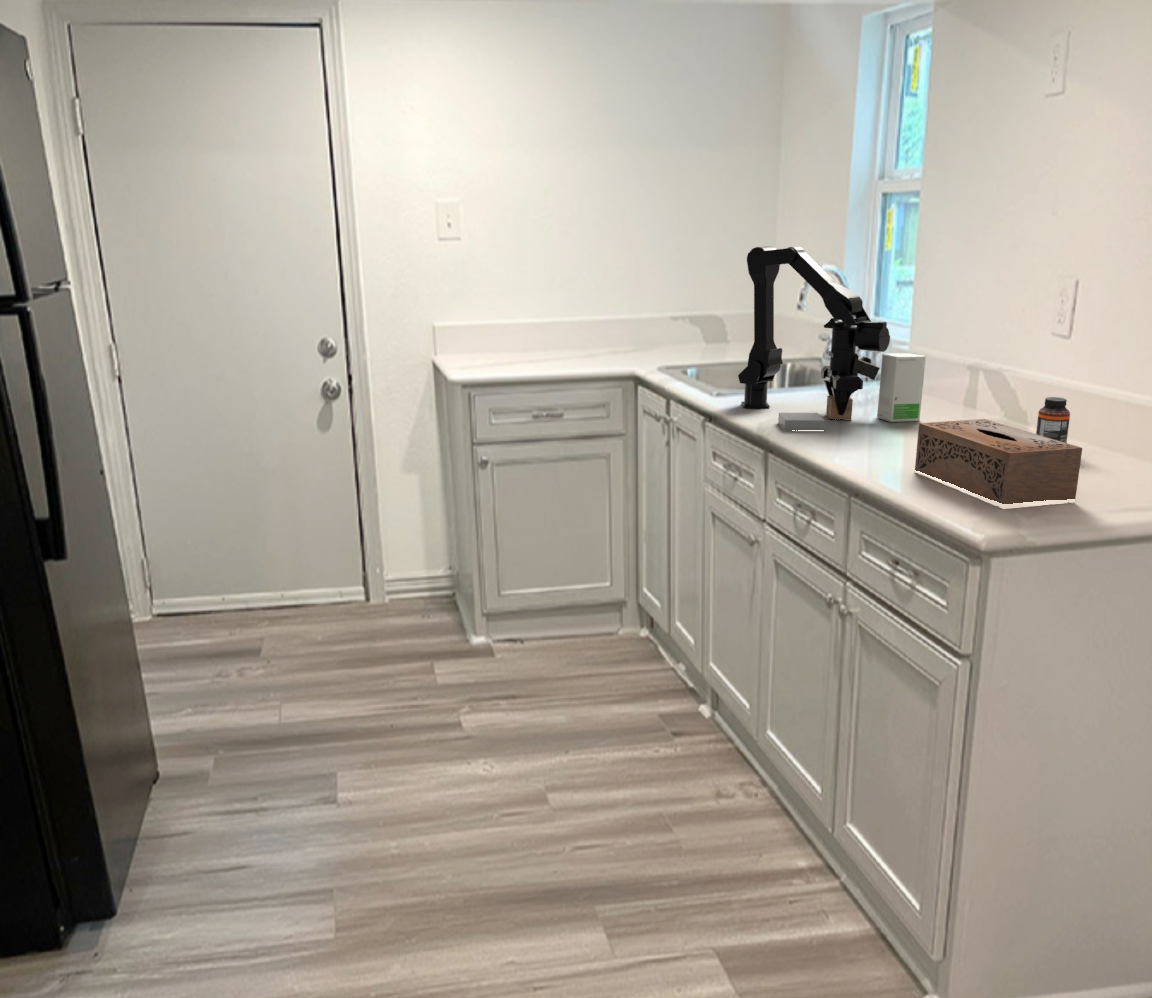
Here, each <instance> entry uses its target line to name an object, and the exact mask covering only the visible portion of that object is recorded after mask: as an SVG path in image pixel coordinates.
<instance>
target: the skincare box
mask: <svg viewBox="0 0 1152 998" xmlns="http://www.w3.org/2000/svg"><path fill="white" fill-rule="evenodd" d="M926 358H927V356H925V355H921V354H914V353H882V354H881V368H880V370H881V371H880V382H879V394H878V402H877V412H876V413H877V415H876V418H878V419H880V420H883V421H887V422H890V423H895V422H897V423H898V422H900V423H901V422H919V421H920V419H921V410H922V409H921V408H922V399H923V387H924V377H925V369H926V367H925V366H926Z"/></svg>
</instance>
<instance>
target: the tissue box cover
mask: <svg viewBox="0 0 1152 998" xmlns="http://www.w3.org/2000/svg"><path fill="white" fill-rule="evenodd" d="M917 431H918V432H917V433H918V434H917V442H916V443H917V444H916V453H915V454H916V455H915V464H914V471H915V470H916V471H920V472H922V473H925V474H927V475H930V476H932V477H936V478H938V479H941V480H942V481H945V482H949V483H951V484H954V485H956V486H958V487H960V488H964V489H966V490H968V491H970V492H972V493H975V494H978V495H980V496H983V497H985V498H988V499H990V500H994V501H997V502H999V503H1002V504H1013V503H1023V502H1033V501H1044V500H1045V501H1046V500H1067V499H1075V500H1076V498H1077V490H1078V483H1079V477H1080V476H1079V475H1080V470H1081V462H1082V455H1083V454H1082V453H1083V447H1082V446H1077V445H1074V444H1070V443H1064V442H1061V441H1058V440H1054V439H1051V438H1047V437H1044V436H1041V435H1037V434H1036V433H1033V432H1030V431H1027V430H1024V429H1020V428H1016V427H1013V426H1009V425H1007V424H1003V423H1001V422H996V421H992V420H989V419H987V418H986V419H985V418H979V419H977V418H975V419H964V420H962V419H961V420H948V421H945V420H944V421H932V422H919V423H918V430H917Z"/></svg>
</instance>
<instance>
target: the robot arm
mask: <svg viewBox="0 0 1152 998" xmlns="http://www.w3.org/2000/svg"><path fill="white" fill-rule="evenodd" d="M746 255H747V256H746V264H747V272H748V275H749V277H750V279H751V281H752V283H753V321H754V323H753V324H754V325H753V331H754V332H753V335H754V337H753V340H754V341H753V344H752V346H751V349H750V351H749V353H748V361H747V366H746V367H745V368H744V369H743V370H742V371H741V372H739V374H738V375H737V377H738V380H739V383H740V384H743V385H744V395H743V396H744V400H743V401H741V402H740V403H741V406H743V408H747V409H748V408H749V409H755V408H756V409H757V408H758V409H761V408H762V409H770V408H771V407H770V404H769V403H768V388H769V387H768V385H769V384H768V383H769V382H773V381H774V379H775V377H776V374H778V373H779V371H780V370H781V365H783V364H784V362H783V359H782V358H783V357H782V356H783V348H782V347H780V348H778V347H777V345H776V343H775V339H774V338H775V337H774V336H775V335H774V333H775V332H774V331H775V329H774V328H775V327H774V322H775V320H774V318H775V317H774V314H775V313H774V312H775V311H774V309H775V308H774V306H775V304H774V302H775V301H774V299H775V296H774V295H775V292H774V291H775V286H774V285H775V283H776V282H775V281H776V279H777V277H778V275H779V272H780V267H781V265H789V266H791V268H792V269H794V271H795V272H796V273H797V274H799V275H800V277H801V278H802V279H803V280H804V281H805V282H806V283H807V284H809V286H811V288H813V290H814V291H815V292H816V293H817V294H818V295H819V296H820V297H821V299H822V301H823V305H824V307H825V308H826V309H827V311H828V312H829V314H830V315H831V318H830V319H829V320H828V321H827V322H826V323H825V324H823V328H825V329H832V330H831V342H830V343H831V344H830V350H829V351H828V356H829V357H830V358H829V359H830V360H829V365H825V366H824V367H822V368H821V369H820V378H822V380H823V379H825V380H823V383H824V386H825V388H826V391H827V394H828V396H834V400H835V403H836V407H837V410H838V414H839V415H844V413H845V410H846V407H847V404H848V401H849V398H851V396H852V395H853V394H854V393H855V392H856V391H858V390H863V387H864V381H863V379H862V378H861V377H860V376H859V375H861V376H864V377H867V378H869V379H870V380H873V381H875V380H876V377H877V375H878V373H879V370H881V368H880V367H879V366H877V365H876V364H873V363H872V360H871V358H869V357H867V356H862V357H861V358H859V354H858V353H857V352H856V350H857V349H858V350H860V351H871V352H879V353H881V352H882V353H885V352H886V351H887V350H888V348H889V346H890V342H891V335H890V331H889V328H888V327H887V324H888V322H887V321H872V320H871V318H870V317H869V315H868V314H867V312H866V310H865V308H864V306H863V303H864V302H863V299H862V297H860V296H859V295H858V294H857V293H855V292H853V291H852V290H850V289H849V288H847V287H845V286H842V285H840V284H839V283H837V282H836V281H835V280H834V278H832V277H831V276H830V275H829V274H828V273H827V272H826V271H825V269H823V268H822V267H821V266H820V265H819V264H818V263H817V262H816V261H814V259H813V258H812V257H811V256H810V255H809V254H808V253H807V252H806V250H805V249H804V248H803V247H801V246H788V247H787V248H779V249H778V248H776V247H774V246H756V247H753V248H751V250H750V251H749V252H747V254H746ZM858 374H859V375H858Z"/></svg>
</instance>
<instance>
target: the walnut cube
mask: <svg viewBox="0 0 1152 998" xmlns="http://www.w3.org/2000/svg"><path fill="white" fill-rule="evenodd" d="M853 403H854V400H853V398H852V397H850V398H849V401H848V404H847V407H846V410H845V413H844V415H839V414H838V410H837V407H836V403H835V400H834V396H829V395H827V396H826V409H825V410H826V411H825V412H826V413H825V417H826V418H827V419H829V418H830V419H835V420H834V421H841V420H840V419H851V420H852V415H853V414H852V413H853ZM830 419H829V420H830ZM836 419H837V420H836ZM838 419H839V420H838Z"/></svg>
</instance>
